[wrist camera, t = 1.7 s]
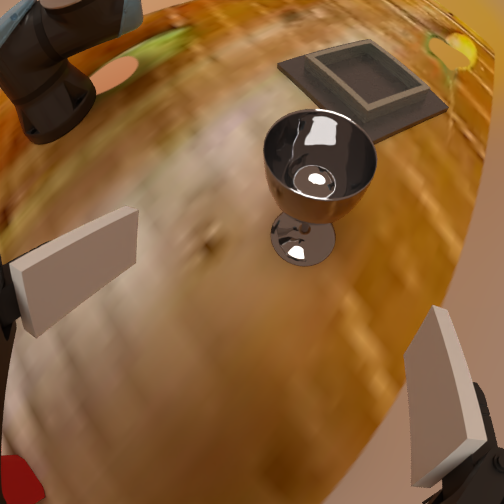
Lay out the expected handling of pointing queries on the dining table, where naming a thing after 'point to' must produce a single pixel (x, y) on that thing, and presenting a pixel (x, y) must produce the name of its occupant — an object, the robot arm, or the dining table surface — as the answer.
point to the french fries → (19, 481)
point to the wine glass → (315, 179)
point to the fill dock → (365, 87)
